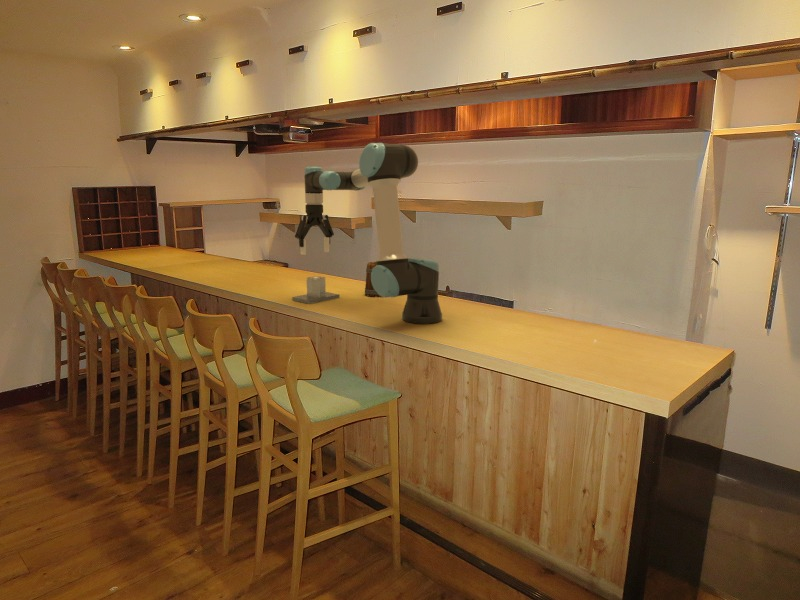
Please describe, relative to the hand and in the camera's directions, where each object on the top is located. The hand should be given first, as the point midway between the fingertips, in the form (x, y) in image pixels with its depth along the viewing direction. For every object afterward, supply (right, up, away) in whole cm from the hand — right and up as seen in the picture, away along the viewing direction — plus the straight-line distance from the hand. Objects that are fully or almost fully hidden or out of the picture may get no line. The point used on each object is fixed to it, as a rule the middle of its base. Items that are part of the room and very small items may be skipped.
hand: (315, 253), depth 232 cm
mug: (+28, -18, +14) cm, 37 cm away
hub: (0, -19, +4) cm, 19 cm away
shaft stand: (0, -20, +4) cm, 20 cm away
